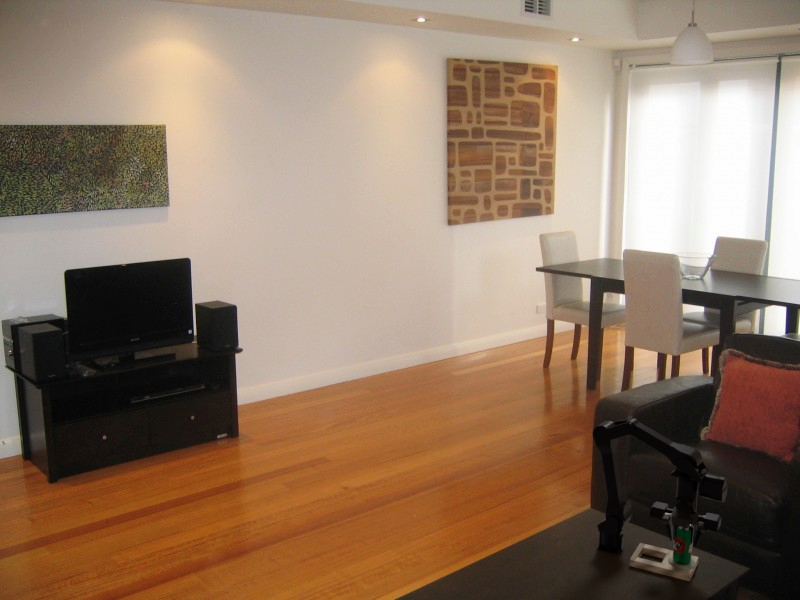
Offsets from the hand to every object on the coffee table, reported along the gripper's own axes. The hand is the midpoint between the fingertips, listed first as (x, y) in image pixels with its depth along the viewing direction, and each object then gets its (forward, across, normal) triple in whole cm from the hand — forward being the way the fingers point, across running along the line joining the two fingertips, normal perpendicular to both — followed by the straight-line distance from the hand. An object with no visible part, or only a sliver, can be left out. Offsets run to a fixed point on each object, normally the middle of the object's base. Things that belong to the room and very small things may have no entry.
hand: (683, 543), depth 234 cm
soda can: (+6, 0, 0) cm, 6 cm away
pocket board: (+8, -4, 0) cm, 9 cm away
